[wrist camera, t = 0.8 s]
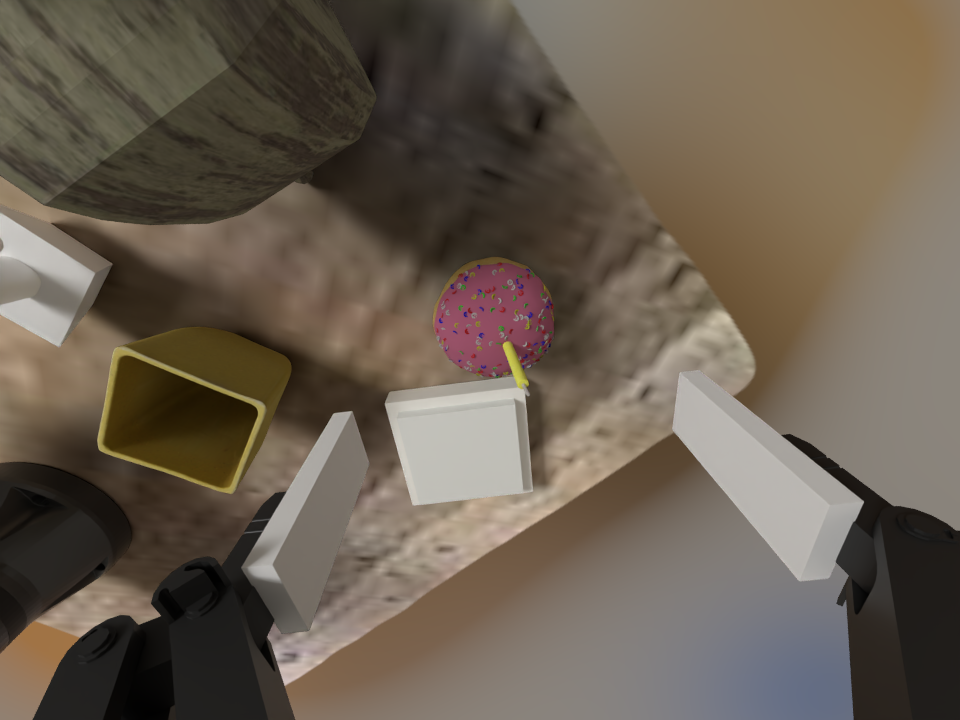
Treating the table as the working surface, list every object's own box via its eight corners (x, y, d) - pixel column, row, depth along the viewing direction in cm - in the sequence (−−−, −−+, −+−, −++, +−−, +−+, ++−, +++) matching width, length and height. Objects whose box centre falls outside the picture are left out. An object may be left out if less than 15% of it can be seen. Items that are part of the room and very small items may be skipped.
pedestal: (415, 490, 38) (411, 513, 35) (389, 391, 33) (382, 410, 30) (529, 477, 38) (534, 499, 35) (521, 375, 33) (526, 392, 30)
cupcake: (563, 306, 30) (618, 373, 19) (486, 369, 32) (496, 461, 21) (495, 224, 27) (513, 248, 16) (415, 299, 29) (385, 365, 19)
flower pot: (320, 349, 31) (267, 407, 23) (287, 424, 34) (231, 498, 26) (212, 299, 29) (113, 344, 21) (188, 384, 32) (94, 451, 24)
